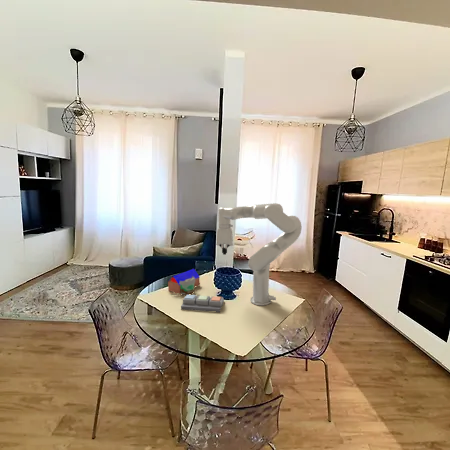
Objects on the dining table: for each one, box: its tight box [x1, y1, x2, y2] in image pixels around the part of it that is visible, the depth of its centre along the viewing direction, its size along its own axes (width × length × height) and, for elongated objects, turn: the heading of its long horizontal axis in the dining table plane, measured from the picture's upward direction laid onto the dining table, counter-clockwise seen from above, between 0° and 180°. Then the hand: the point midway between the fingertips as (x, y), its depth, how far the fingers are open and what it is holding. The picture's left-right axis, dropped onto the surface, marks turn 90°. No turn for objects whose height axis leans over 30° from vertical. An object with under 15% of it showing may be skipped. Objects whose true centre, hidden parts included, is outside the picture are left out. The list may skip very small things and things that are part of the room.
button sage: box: [198, 295, 209, 301], centre depth 152 cm, size 5×5×2 cm
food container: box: [179, 276, 195, 296], centre depth 169 cm, size 12×6×10 cm, turn 143°
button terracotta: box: [211, 296, 222, 302], centre depth 151 cm, size 5×5×2 cm
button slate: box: [184, 294, 196, 300], centre depth 154 cm, size 5×5×2 cm
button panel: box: [180, 294, 225, 313], centre depth 152 cm, size 23×14×4 cm, turn 81°
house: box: [167, 268, 201, 295], centre depth 179 cm, size 12×20×12 cm, turn 143°
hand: (224, 254), depth 166 cm, fingers closed
